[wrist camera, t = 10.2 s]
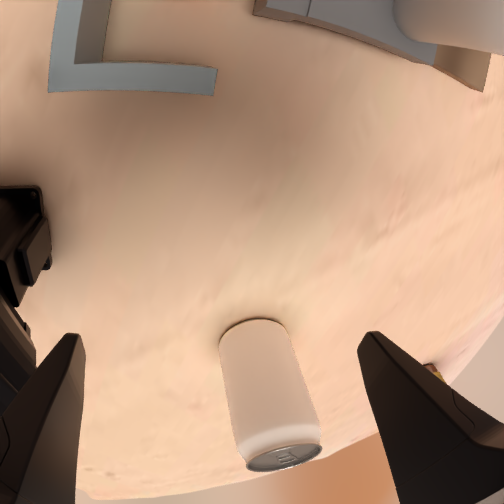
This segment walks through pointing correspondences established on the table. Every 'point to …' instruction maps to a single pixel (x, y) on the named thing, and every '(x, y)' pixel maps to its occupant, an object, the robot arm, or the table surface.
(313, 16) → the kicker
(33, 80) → the table surface
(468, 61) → the rail
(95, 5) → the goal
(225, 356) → the can
